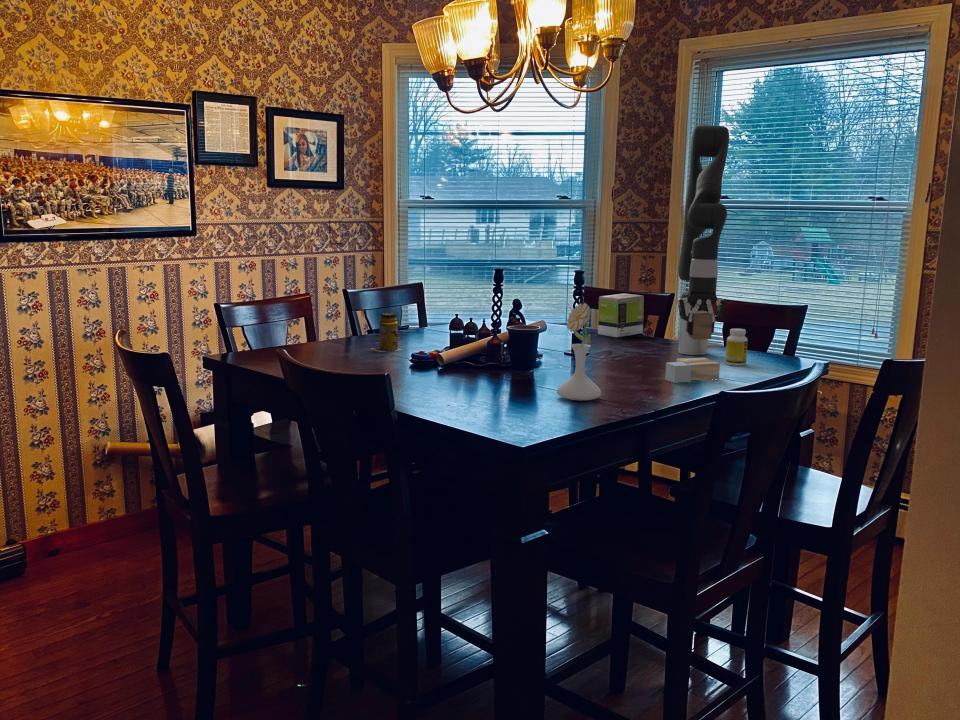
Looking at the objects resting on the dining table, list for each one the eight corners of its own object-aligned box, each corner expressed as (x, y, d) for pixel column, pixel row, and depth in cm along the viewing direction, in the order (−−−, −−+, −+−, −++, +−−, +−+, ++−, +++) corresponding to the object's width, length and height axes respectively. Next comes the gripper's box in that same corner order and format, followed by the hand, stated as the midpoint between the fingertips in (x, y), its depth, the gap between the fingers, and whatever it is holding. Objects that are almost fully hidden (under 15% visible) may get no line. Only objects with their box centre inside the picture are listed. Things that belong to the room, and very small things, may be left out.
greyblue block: (665, 379, 238) (666, 362, 237) (680, 378, 240) (681, 361, 239) (674, 383, 234) (675, 366, 233) (690, 382, 235) (691, 365, 234)
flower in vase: (553, 393, 219) (556, 298, 214) (596, 393, 220) (600, 298, 215) (561, 405, 206) (564, 304, 202) (607, 405, 207) (611, 305, 202)
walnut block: (688, 336, 242) (689, 312, 241) (705, 336, 242) (707, 312, 241) (693, 339, 237) (695, 314, 236) (711, 339, 237) (712, 314, 236)
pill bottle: (746, 366, 258) (749, 331, 256) (726, 365, 259) (728, 330, 257) (744, 363, 264) (747, 328, 262) (724, 362, 265) (726, 327, 263)
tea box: (623, 330, 326) (624, 292, 323) (643, 334, 318) (645, 295, 315) (596, 334, 316) (598, 295, 313) (617, 338, 309) (619, 298, 306)
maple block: (675, 375, 245) (676, 358, 244) (703, 374, 247) (704, 357, 246) (690, 382, 237) (691, 364, 236) (718, 380, 239) (719, 363, 238)
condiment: (402, 350, 278) (402, 314, 276) (380, 352, 273) (380, 316, 271) (391, 346, 284) (391, 311, 282) (369, 349, 279) (369, 313, 277)
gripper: (724, 274, 240) (720, 332, 244) (674, 273, 240) (671, 332, 243) (733, 276, 233) (728, 337, 236) (682, 276, 232) (678, 336, 235)
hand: (699, 334), depth 240 cm, fingers closed on walnut block, 5 cm apart
